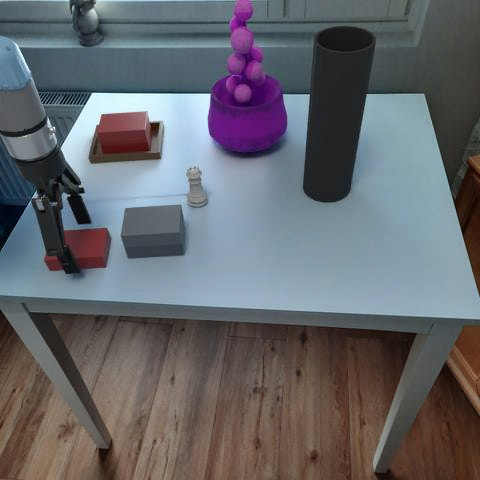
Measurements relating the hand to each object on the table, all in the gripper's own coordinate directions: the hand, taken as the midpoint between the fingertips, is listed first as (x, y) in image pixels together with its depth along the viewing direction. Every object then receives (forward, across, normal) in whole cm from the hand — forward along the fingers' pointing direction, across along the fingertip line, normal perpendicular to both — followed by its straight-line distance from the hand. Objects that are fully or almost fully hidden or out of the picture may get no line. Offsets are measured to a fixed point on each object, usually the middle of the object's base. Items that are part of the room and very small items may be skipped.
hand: (79, 246), depth 91 cm
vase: (+3, +16, -51) cm, 53 cm away
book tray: (+2, +36, -6) cm, 37 cm away
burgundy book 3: (+1, +36, -6) cm, 37 cm away
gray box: (+2, +2, -15) cm, 15 cm away
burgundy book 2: (-2, +36, -6) cm, 37 cm away
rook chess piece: (+3, +14, -23) cm, 27 cm away
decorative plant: (+3, +36, -35) cm, 50 cm away
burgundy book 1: (+2, 0, 0) cm, 2 cm away
